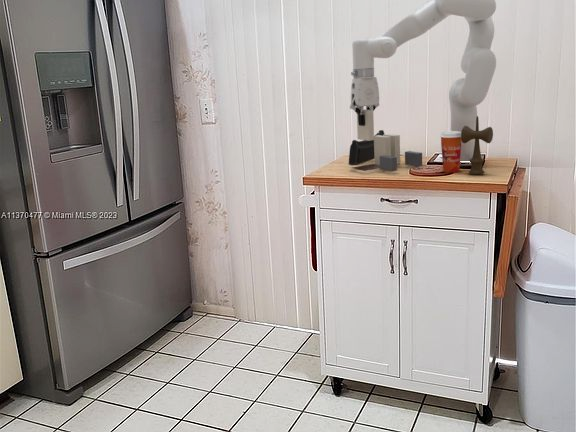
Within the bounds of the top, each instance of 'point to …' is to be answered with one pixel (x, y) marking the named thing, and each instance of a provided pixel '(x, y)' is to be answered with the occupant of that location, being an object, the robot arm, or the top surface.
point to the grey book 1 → (388, 163)
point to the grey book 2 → (413, 158)
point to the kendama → (476, 145)
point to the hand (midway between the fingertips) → (365, 124)
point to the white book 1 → (366, 126)
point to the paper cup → (451, 151)
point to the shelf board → (368, 167)
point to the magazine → (362, 150)
